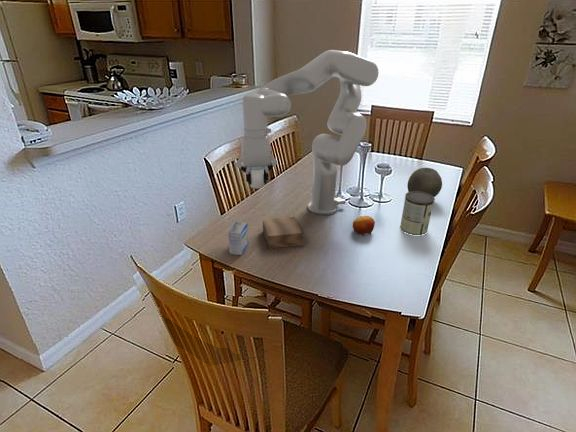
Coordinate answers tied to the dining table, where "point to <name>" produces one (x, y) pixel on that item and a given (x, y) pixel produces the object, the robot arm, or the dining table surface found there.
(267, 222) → the walnut block
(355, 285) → the dining table surface
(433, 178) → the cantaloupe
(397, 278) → the dining table surface
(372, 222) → the fruit
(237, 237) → the medicine box
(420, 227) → the coffee can
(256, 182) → the pill bottle
